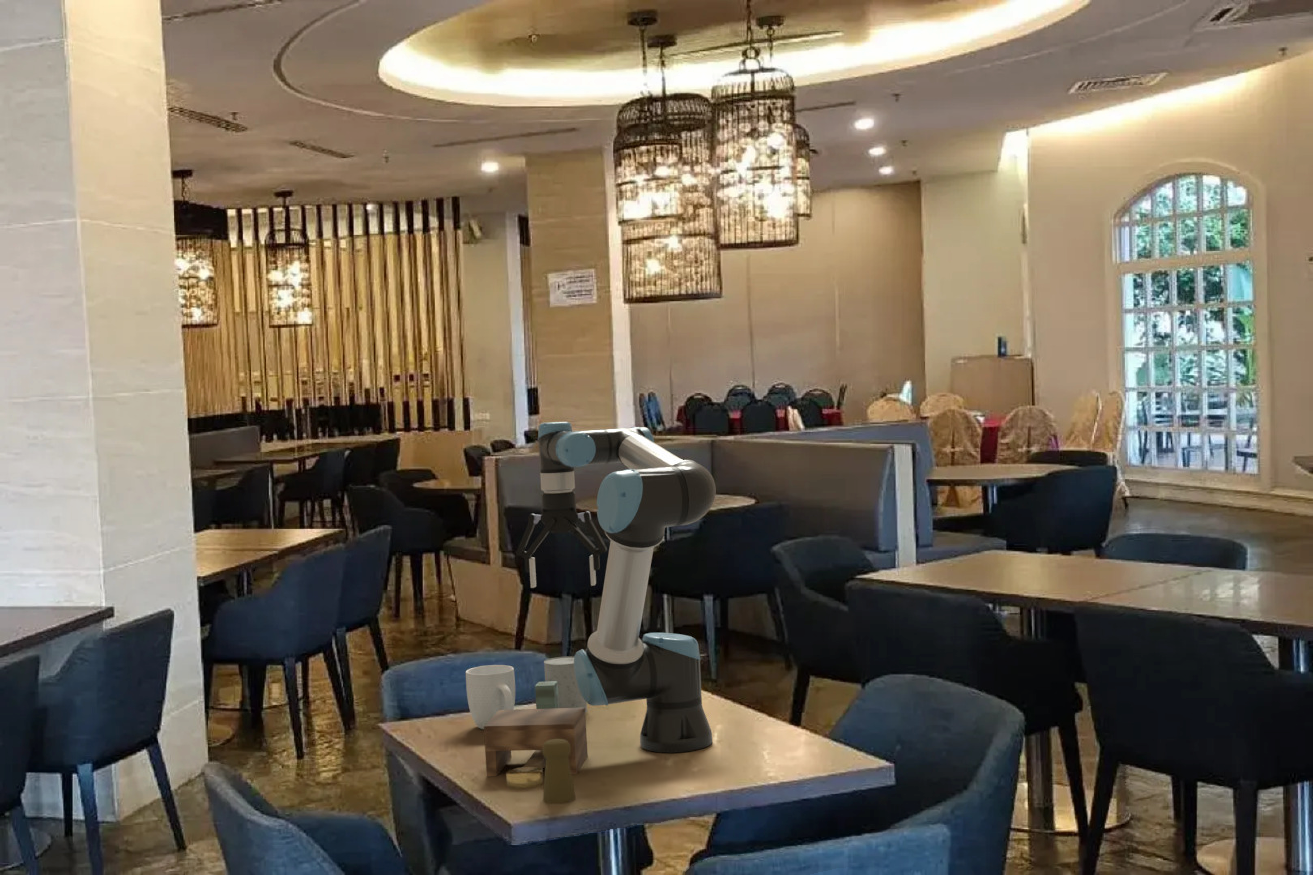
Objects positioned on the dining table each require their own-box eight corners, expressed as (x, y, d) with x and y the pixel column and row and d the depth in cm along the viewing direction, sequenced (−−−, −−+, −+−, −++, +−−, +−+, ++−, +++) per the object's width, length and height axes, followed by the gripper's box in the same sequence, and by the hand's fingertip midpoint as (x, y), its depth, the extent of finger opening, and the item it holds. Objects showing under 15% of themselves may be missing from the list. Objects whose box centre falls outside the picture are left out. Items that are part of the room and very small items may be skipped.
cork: (563, 805, 264) (559, 745, 264) (536, 801, 268) (533, 742, 267) (582, 796, 269) (578, 737, 269) (555, 792, 273) (552, 734, 272)
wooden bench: (587, 755, 298) (584, 707, 298) (576, 774, 285) (573, 724, 284) (502, 757, 301) (499, 709, 300) (486, 776, 287) (483, 726, 286)
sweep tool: (542, 747, 308) (538, 681, 307) (560, 746, 307) (557, 681, 307) (519, 778, 284) (515, 707, 283) (539, 778, 283) (535, 707, 283)
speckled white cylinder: (586, 716, 334) (583, 663, 334) (544, 718, 334) (541, 665, 334) (588, 707, 344) (585, 655, 343) (548, 708, 344) (545, 657, 343)
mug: (534, 729, 324) (530, 671, 323) (490, 738, 318) (486, 679, 317) (503, 718, 336) (500, 662, 336) (460, 726, 330) (457, 669, 330)
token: (549, 781, 282) (549, 768, 282) (530, 791, 275) (529, 778, 275) (519, 778, 285) (518, 765, 285) (499, 788, 279) (499, 775, 279)
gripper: (615, 487, 325) (621, 581, 326) (506, 492, 328) (512, 585, 329) (611, 490, 318) (616, 586, 318) (499, 495, 320) (505, 590, 321)
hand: (563, 586), depth 324 cm, fingers open, 13 cm apart
